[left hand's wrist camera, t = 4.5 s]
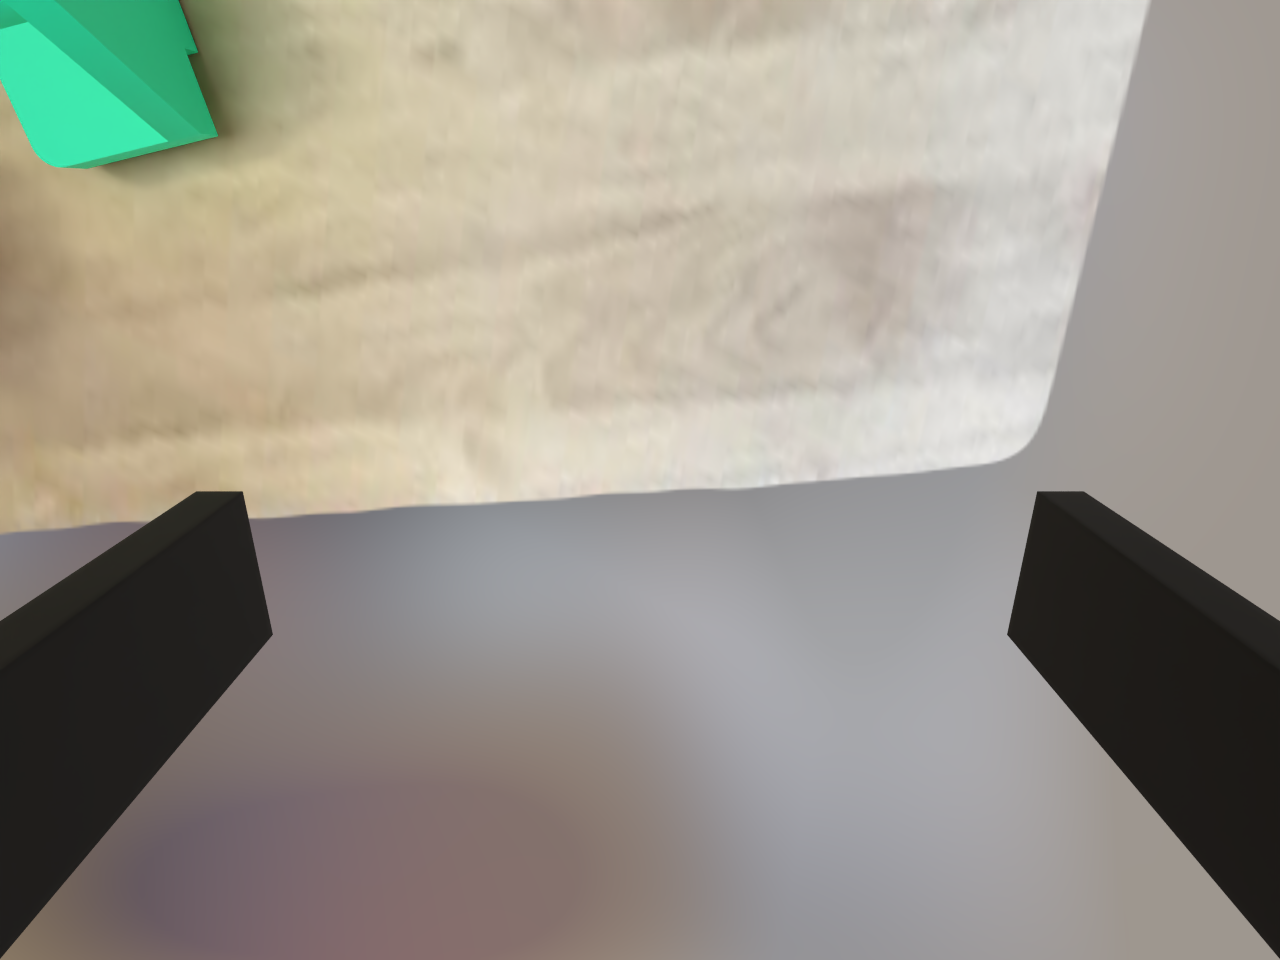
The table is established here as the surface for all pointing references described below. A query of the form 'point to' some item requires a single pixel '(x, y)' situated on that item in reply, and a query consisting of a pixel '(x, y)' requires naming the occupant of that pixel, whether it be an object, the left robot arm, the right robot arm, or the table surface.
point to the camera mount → (101, 78)
